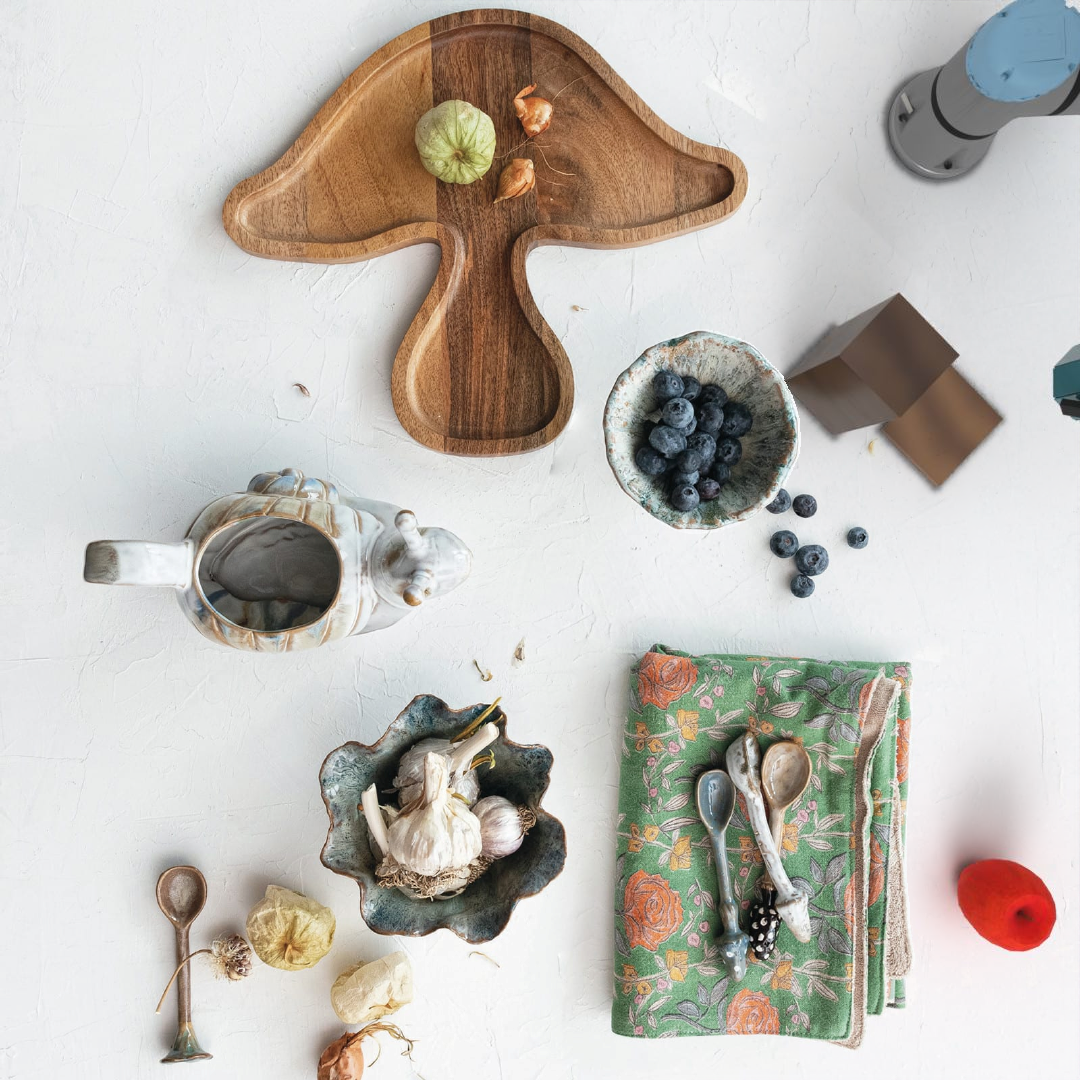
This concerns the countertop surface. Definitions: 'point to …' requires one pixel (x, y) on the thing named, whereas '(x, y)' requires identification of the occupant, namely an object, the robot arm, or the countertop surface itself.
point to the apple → (1006, 904)
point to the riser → (871, 367)
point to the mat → (943, 426)
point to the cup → (1067, 377)
